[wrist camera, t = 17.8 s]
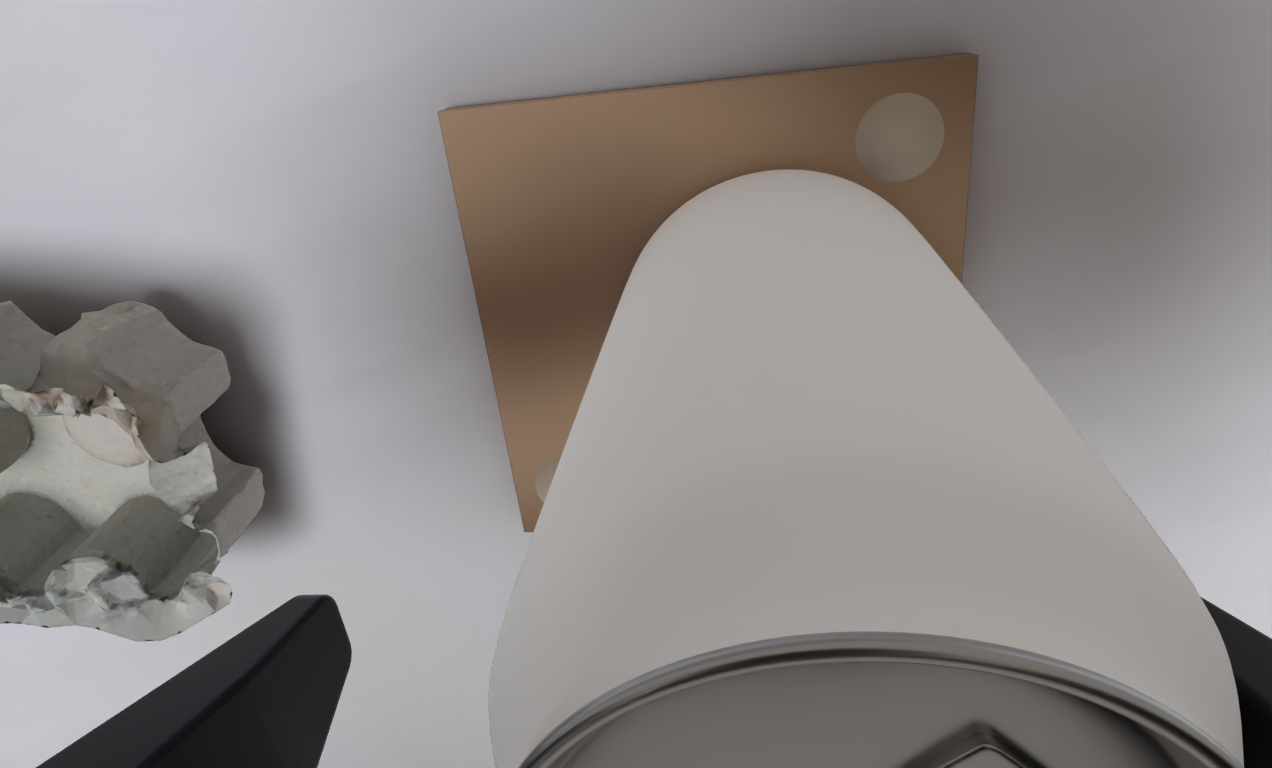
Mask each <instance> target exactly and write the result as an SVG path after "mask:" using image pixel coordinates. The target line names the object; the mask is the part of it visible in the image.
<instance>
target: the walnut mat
mask: <svg viewBox="0 0 1272 768" xmlns="http://www.w3.org/2000/svg"><path fill="white" fill-rule="evenodd" d="M977 68H978V55H976V54H971V53H965V54H955V55H946V56H936V57H927V58H918V59H908V60H899V61H889V62H880V63H870V64H861V65H851V66H842V67H833V68H823V69H814V70H804V71H795V72H785V73H776V74H766V75H757V76H748V77H738V78H729V79H719V80H710V81H700V82H691V83H681V84H672V85H663V86H653V87H644V88H634V89H625V90H615V91H606V92H596V93H587V94H577V95H568V96H559V97H549V98H540V99H530V100H521V101H511V102H502V103H492V104H483V105H474V106H464V107H455V108H447V109H444V110H442V111H439V112H438V116H439V121H440V126H441V131H442V136H443V140H444V145H445V150H446V155H447V160H448V165H449V169H450V174H451V179H452V184H453V189H454V194H455V198H456V203H457V208H458V213H459V218H460V223H461V227H462V232H463V237H464V242H465V247H466V251H467V256H468V261H469V266H470V271H471V276H472V280H473V285H474V290H475V295H476V300H477V305H478V309H479V314H480V319H481V324H482V329H483V334H484V338H485V343H486V348H487V353H488V358H489V363H490V367H491V372H492V377H493V382H494V387H495V392H496V396H497V401H498V406H499V411H500V416H501V421H502V425H503V430H504V435H505V440H506V445H507V450H508V454H509V459H510V464H511V469H512V474H513V479H514V483H515V488H516V493H517V498H518V503H519V508H520V512H521V517H522V522H523V527H524V532H534V529H535V527H536V524H537V521H538V518H539V516H540V513H541V510H542V507H543V505H544V502H545V499H546V496H547V494H548V491H549V488H550V486H551V483H552V480H553V477H554V475H555V472H556V469H557V467H558V464H559V461H560V458H561V456H562V453H563V450H564V447H565V445H566V442H567V439H568V437H569V434H570V431H571V429H572V426H573V423H574V421H575V418H576V415H577V413H578V410H579V407H580V404H581V402H582V399H583V396H584V394H585V391H586V388H587V386H588V383H589V380H590V378H591V375H592V372H593V370H594V367H595V364H596V362H597V359H598V356H599V354H600V351H601V348H602V346H603V343H604V341H605V338H606V335H607V333H608V330H609V327H610V325H611V322H612V320H613V317H614V314H615V312H616V309H617V307H618V304H619V301H620V299H621V296H622V294H623V291H624V289H625V286H626V284H627V281H628V279H629V277H630V274H631V272H632V270H633V268H634V265H635V263H636V261H637V259H638V257H639V256H640V254H641V252H642V250H643V249H644V247H645V246H646V244H647V243H648V241H649V240H650V238H651V237H652V236H653V234H654V233H655V232H656V231H657V229H658V228H659V227H660V226H661V225H662V224H663V223H664V222H665V221H666V220H667V219H668V218H669V217H670V216H671V215H672V214H673V213H674V212H675V211H676V210H677V209H679V208H680V207H681V206H682V205H684V204H685V203H686V202H688V201H689V200H691V199H692V198H694V197H695V196H697V195H698V194H700V193H702V192H704V191H705V190H707V189H709V188H711V187H713V186H715V185H718V184H720V183H722V182H725V181H727V180H730V179H733V178H736V177H739V176H743V175H747V174H751V173H756V172H762V171H769V170H784V169H794V170H808V171H815V172H821V173H826V174H830V175H834V176H838V177H841V178H844V179H847V180H849V181H852V182H854V183H856V184H859V185H861V186H863V187H865V188H867V189H869V190H870V191H872V192H874V193H875V194H877V195H879V196H880V197H882V198H883V199H884V200H886V201H887V202H888V203H890V204H891V205H892V206H894V207H895V208H896V209H897V210H898V211H899V212H901V213H902V214H903V215H904V216H905V217H906V218H907V219H908V220H909V221H910V223H911V224H912V225H913V226H914V227H915V228H916V229H917V230H918V231H919V233H920V234H921V235H922V236H923V237H924V239H925V240H926V241H927V242H928V243H929V244H930V246H931V247H932V248H933V249H934V250H935V252H936V253H937V254H938V255H939V257H940V258H941V259H942V260H943V262H944V263H945V264H946V265H947V266H948V268H949V269H950V270H951V271H952V273H953V274H954V275H955V276H956V278H957V279H958V280H959V281H960V283H961V280H962V267H963V254H964V240H965V227H966V214H967V201H968V187H969V174H970V161H971V148H972V134H973V121H974V108H975V95H976V81H977Z"/></svg>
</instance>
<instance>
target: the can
mask: <svg viewBox="0 0 1272 768" xmlns="http://www.w3.org/2000/svg"><path fill="white" fill-rule="evenodd" d="M489 721H490V734H491V742H492V748H493V755H494V761H495V766H496V768H1245V767H1244V756H1243V741H1242V725H1241V716H1240V708H1239V701H1238V694H1237V688H1236V684H1235V679H1234V675H1233V671H1232V667H1231V663H1230V659H1229V656H1228V653H1227V650H1226V647H1225V644H1224V642H1223V639H1222V637H1221V634H1220V632H1219V630H1218V628H1217V626H1216V624H1215V622H1214V620H1213V618H1212V616H1211V615H1210V613H1209V611H1208V609H1207V608H1206V606H1205V604H1204V602H1203V601H1202V599H1201V597H1200V595H1199V594H1198V592H1197V590H1196V589H1195V587H1194V585H1193V583H1192V582H1191V580H1190V579H1189V577H1188V576H1187V574H1186V573H1185V571H1184V570H1183V568H1182V567H1181V565H1180V564H1179V563H1178V561H1177V560H1176V559H1175V557H1174V556H1173V554H1172V553H1171V552H1170V550H1169V549H1168V548H1167V546H1166V545H1165V543H1164V542H1163V541H1162V539H1161V538H1160V537H1159V535H1158V534H1157V532H1156V531H1155V530H1154V528H1153V527H1152V525H1151V524H1150V523H1149V522H1148V520H1147V519H1146V518H1145V516H1144V515H1143V514H1142V512H1141V511H1140V510H1139V509H1138V507H1137V506H1136V505H1135V503H1134V502H1133V501H1132V500H1131V498H1130V497H1129V496H1128V494H1127V493H1126V492H1125V490H1124V489H1123V488H1122V487H1121V485H1120V484H1119V483H1118V481H1117V480H1116V479H1115V478H1114V476H1113V475H1112V474H1111V472H1110V471H1109V470H1108V468H1107V467H1106V466H1105V465H1104V463H1103V462H1102V461H1101V459H1100V458H1099V457H1098V456H1097V454H1096V453H1095V452H1094V450H1093V449H1092V448H1091V447H1090V445H1089V444H1088V443H1087V441H1086V440H1085V439H1084V438H1083V436H1082V435H1081V434H1080V433H1079V431H1078V430H1077V429H1076V428H1075V426H1074V425H1073V424H1072V422H1071V421H1070V420H1069V419H1068V417H1067V416H1066V415H1065V414H1064V412H1063V411H1062V410H1061V408H1060V407H1059V406H1058V405H1057V403H1056V402H1055V401H1054V400H1053V398H1052V397H1051V396H1050V394H1049V393H1048V392H1047V391H1046V389H1045V388H1044V387H1043V386H1042V384H1041V383H1040V382H1039V380H1038V379H1037V378H1036V377H1035V375H1034V374H1033V373H1032V372H1031V370H1030V369H1029V368H1028V367H1027V365H1026V364H1025V363H1024V362H1023V360H1022V359H1021V358H1020V357H1019V355H1018V354H1017V353H1016V352H1015V350H1014V349H1013V348H1012V346H1011V345H1010V344H1009V343H1008V341H1007V340H1006V339H1005V338H1004V336H1003V335H1002V334H1001V333H1000V331H999V330H998V329H997V328H996V326H995V325H994V324H993V323H992V321H991V320H990V319H989V318H988V316H987V315H986V314H985V313H984V311H983V310H982V309H981V308H980V306H979V305H978V304H977V303H976V301H975V300H974V299H973V298H972V296H971V295H970V294H969V293H968V291H967V290H966V289H965V288H964V286H963V285H962V284H961V283H960V281H959V280H958V279H957V278H956V276H955V275H954V274H953V273H952V271H951V270H950V269H949V268H948V266H947V265H946V264H945V263H944V262H943V260H942V259H941V258H940V257H939V255H938V254H937V253H936V252H935V250H934V249H933V248H932V247H931V246H930V244H929V243H928V242H927V241H926V240H925V239H924V237H923V236H922V235H921V234H920V233H919V231H918V230H917V229H916V228H915V227H914V226H913V225H912V224H911V223H910V221H909V220H908V219H907V218H906V217H905V216H904V215H903V214H902V213H901V212H899V211H898V210H897V209H896V208H895V207H894V206H892V205H891V204H890V203H888V202H887V201H886V200H884V199H883V198H882V197H880V196H879V195H877V194H875V193H874V192H872V191H870V190H869V189H867V188H865V187H863V186H861V185H859V184H856V183H854V182H852V181H849V180H847V179H844V178H841V177H838V176H834V175H830V174H826V173H821V172H815V171H808V170H794V169H784V170H769V171H762V172H756V173H751V174H747V175H743V176H739V177H736V178H733V179H730V180H727V181H725V182H722V183H720V184H718V185H715V186H713V187H711V188H709V189H707V190H705V191H704V192H702V193H700V194H698V195H697V196H695V197H694V198H692V199H691V200H689V201H688V202H686V203H685V204H684V205H682V206H681V207H680V208H679V209H677V210H676V211H675V212H674V213H673V214H672V215H671V216H670V217H669V218H668V219H667V220H666V221H665V222H664V223H663V224H662V225H661V226H660V227H659V228H658V229H657V231H656V232H655V233H654V234H653V236H652V237H651V238H650V240H649V241H648V243H647V244H646V246H645V247H644V249H643V250H642V252H641V254H640V256H639V257H638V259H637V261H636V263H635V265H634V268H633V270H632V272H631V274H630V277H629V279H628V281H627V284H626V286H625V289H624V291H623V294H622V296H621V299H620V301H619V304H618V307H617V309H616V312H615V314H614V317H613V320H612V322H611V325H610V327H609V330H608V333H607V335H606V338H605V341H604V343H603V346H602V348H601V351H600V354H599V356H598V359H597V362H596V364H595V367H594V370H593V372H592V375H591V378H590V380H589V383H588V386H587V388H586V391H585V394H584V396H583V399H582V402H581V404H580V407H579V410H578V413H577V415H576V418H575V421H574V423H573V426H572V429H571V431H570V434H569V437H568V439H567V442H566V445H565V447H564V450H563V453H562V456H561V458H560V461H559V464H558V467H557V469H556V472H555V475H554V477H553V480H552V483H551V486H550V488H549V491H548V494H547V496H546V499H545V502H544V505H543V507H542V510H541V513H540V516H539V518H538V521H537V524H536V527H535V529H534V532H533V535H532V538H531V541H530V543H529V546H528V549H527V552H526V555H525V557H524V560H523V563H522V566H521V569H520V571H519V574H518V577H517V580H516V583H515V586H514V589H513V592H512V595H511V598H510V601H509V604H508V607H507V610H506V613H505V616H504V620H503V623H502V626H501V630H500V633H499V637H498V642H497V646H496V651H495V656H494V660H493V665H492V669H491V676H490V684H489Z"/></svg>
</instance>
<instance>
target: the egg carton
mask: <svg viewBox="0 0 1272 768" xmlns="http://www.w3.org/2000/svg"><path fill="white" fill-rule="evenodd" d="M230 381H231V376H230V374H229V371H228V366H227V361H226V358H225V356H224V354H223V352H222V351H221V350H219V349H217V348H214V347H211V346H207V345H204V344H200V343H197V342H194V341H192V340H191V339H189V338H188V337H186V336H185V335H184V334H182V333H181V332H180V331H179V330H178V329H176V328H175V327H174V326H173V325H172V324H171V323H170V322H169V321H168V320H167V319H166V317H165V316H164V315H163V313H162V312H161V311H159V310H158V309H156V308H154V307H153V306H150V305H147V304H144V303H139V302H134V301H126V302H119V303H116V304H113V305H111V306H108V307H106V308H104V309H103V310H101V311H93V312H86V313H82V316H81V319H80V320H79V321H78V322H77V323H76V324H75V325H74V326H72V327H71V328H70V329H68V330H66V331H64V332H61V333H60V334H58V335H57V336H54V335H53V334H51V333H49V332H47V331H44V330H42V329H41V328H40V327H39V326H38V324H36V323H34V322H33V321H32V320H31V319H30V318H29V317H28V316H27V315H26V314H25V313H23V312H22V311H21V310H20V309H19V308H18V307H17V306H16V305H15V304H14V303H12V302H11V301H6V302H2V303H0V624H2V623H21V624H27V625H34V626H40V627H47V628H49V627H61V626H73V625H78V626H83V627H89V628H95V629H98V630H102V631H105V632H108V633H111V634H114V635H117V636H121V637H124V638H127V639H130V640H133V641H161V640H164V639H166V638H169V637H172V636H174V635H177V634H179V633H181V632H183V631H184V630H186V629H188V628H189V627H191V626H193V625H195V624H196V623H198V622H200V621H201V620H203V619H205V618H207V617H208V616H210V615H212V614H213V613H215V612H217V611H218V610H220V609H222V608H223V607H225V606H226V605H228V604H230V601H231V595H232V590H231V587H230V585H229V584H227V583H226V582H224V581H223V580H221V579H220V578H218V577H212V572H213V571H214V570H215V568H216V567H217V565H218V564H219V562H220V557H222V556H224V555H225V554H226V553H227V552H228V549H229V548H230V547H231V546H232V545H233V544H234V542H235V541H236V540H237V539H238V538H239V537H240V536H241V535H242V534H243V532H244V531H245V529H246V528H247V526H248V525H249V524H250V522H251V521H252V520H253V518H254V517H255V516H256V515H257V514H258V512H259V511H260V510H261V507H262V504H263V500H264V496H265V490H264V487H263V473H262V472H261V470H260V469H259V468H256V467H252V466H247V465H243V464H239V463H235V462H233V461H232V460H231V459H229V458H228V457H227V456H226V455H225V454H223V453H222V452H221V451H220V450H218V449H217V447H216V446H215V445H214V444H213V442H212V440H211V439H210V437H209V435H208V433H207V431H206V429H205V427H204V425H203V422H202V420H201V416H200V415H201V413H202V412H203V411H205V410H206V409H207V408H208V407H209V406H211V405H212V404H213V403H214V402H215V401H216V400H217V399H218V398H219V397H220V396H221V395H222V394H223V393H224V392H225V391H226V390H227V389H228V388H229V386H230Z"/></svg>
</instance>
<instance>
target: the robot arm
mask: <svg viewBox="0 0 1272 768" xmlns="http://www.w3.org/2000/svg"><path fill="white" fill-rule="evenodd" d="M1201 599H1202V601H1203V602H1204V604H1205V606H1206V608H1207V609H1208V611H1209V613H1210V615H1211V616H1212V618H1213V620H1214V622H1215V624H1216V626H1217V628H1218V630H1219V632H1220V634H1221V637H1222V639H1223V642H1224V644H1225V647H1226V650H1227V653H1228V656H1229V659H1230V663H1231V667H1232V671H1233V675H1234V679H1235V684H1236V688H1237V694H1238V701H1239V708H1240V716H1241V725H1242V741H1243V756H1244V767H1245V768H1272V639H1271V638H1269V637H1268V636H1266V635H1264V634H1263V633H1261V632H1259V631H1258V630H1256V629H1254V628H1253V627H1251V626H1249V625H1247V624H1246V623H1244V622H1242V621H1241V620H1239V619H1237V618H1236V617H1234V616H1232V615H1231V614H1229V613H1227V612H1225V611H1224V610H1222V609H1220V608H1219V607H1217V606H1215V605H1214V604H1212V603H1210V602H1208V601H1207V600H1205V599H1203V598H1202V597H1201ZM351 654H352V651H351V644H350V641H349V638H348V635H347V632H346V629H345V626H344V624H343V621H342V618H341V615H340V612H339V609H338V606H337V604H336V602H335V600H334V599H333V598H332V597H331V596H328V595H299V596H296V597H294V598H292V599H291V600H289V601H288V602H286V603H285V604H283V605H282V606H280V607H279V608H277V609H275V610H274V611H272V612H271V613H269V614H268V615H266V616H265V617H263V618H262V619H260V620H259V621H257V622H256V623H254V624H253V625H251V626H250V627H248V628H247V629H245V630H244V631H242V632H241V633H239V634H238V635H236V636H235V637H233V638H232V639H230V640H229V641H227V642H226V643H224V644H222V645H221V646H219V647H218V648H216V649H215V650H213V651H212V652H210V653H209V654H207V655H206V656H204V657H203V658H201V659H200V660H198V661H197V662H195V663H194V664H192V665H191V666H189V667H188V668H186V669H185V670H183V671H182V672H180V673H179V674H177V675H176V676H174V677H173V678H171V679H169V680H168V681H166V682H165V683H163V684H162V685H160V686H159V687H157V688H156V689H154V690H153V691H151V692H150V693H148V694H147V695H145V696H144V697H142V698H141V699H139V700H138V701H136V702H135V703H133V704H132V705H130V706H129V707H127V708H126V709H124V710H123V711H121V712H120V713H118V714H117V715H115V716H113V717H112V718H110V719H109V720H107V721H106V722H104V723H103V724H101V725H100V726H98V727H97V728H95V729H94V730H92V731H91V732H89V733H88V734H86V735H85V736H83V737H82V738H80V739H79V740H77V741H76V742H74V743H73V744H71V745H70V746H68V747H67V748H65V749H64V750H62V751H60V752H59V753H57V754H56V755H54V756H53V757H51V758H50V759H48V760H47V761H45V762H44V763H42V764H41V765H39V766H38V767H36V768H317V766H318V763H319V760H320V757H321V754H322V751H323V748H324V745H325V742H326V739H327V735H328V732H329V729H330V726H331V723H332V720H333V717H334V714H335V711H336V708H337V704H338V701H339V698H340V695H341V692H342V689H343V686H344V683H345V680H346V677H347V673H348V670H349V667H350V663H351Z"/></svg>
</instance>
